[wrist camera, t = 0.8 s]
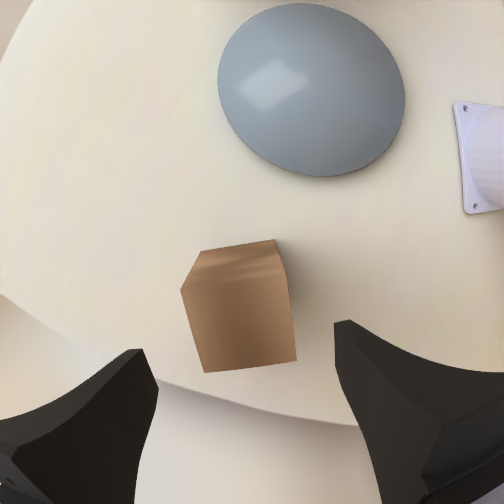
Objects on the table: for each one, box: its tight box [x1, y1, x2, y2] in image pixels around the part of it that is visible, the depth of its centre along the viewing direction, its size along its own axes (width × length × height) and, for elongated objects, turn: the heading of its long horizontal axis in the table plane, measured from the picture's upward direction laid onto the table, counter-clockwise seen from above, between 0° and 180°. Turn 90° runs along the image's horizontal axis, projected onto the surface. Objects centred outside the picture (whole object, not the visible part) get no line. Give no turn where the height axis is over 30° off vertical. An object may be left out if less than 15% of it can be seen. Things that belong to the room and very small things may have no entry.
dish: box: [218, 4, 405, 176], centre depth 15 cm, size 11×11×1 cm
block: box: [180, 239, 297, 373], centre depth 16 cm, size 4×4×6 cm
